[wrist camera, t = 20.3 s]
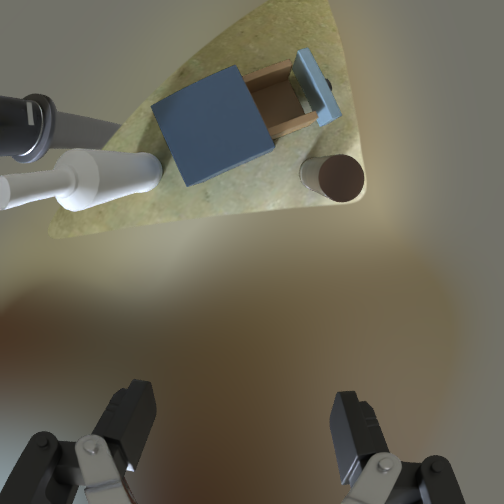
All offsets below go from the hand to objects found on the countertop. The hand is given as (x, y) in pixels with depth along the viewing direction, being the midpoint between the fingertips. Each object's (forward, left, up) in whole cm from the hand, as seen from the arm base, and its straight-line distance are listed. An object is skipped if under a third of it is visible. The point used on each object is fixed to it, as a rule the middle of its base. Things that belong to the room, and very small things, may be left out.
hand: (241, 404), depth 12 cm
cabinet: (-5, +14, -28) cm, 32 cm away
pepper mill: (+7, +9, -28) cm, 30 cm away
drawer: (+3, +17, -27) cm, 33 cm away
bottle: (-14, +9, -28) cm, 33 cm away
